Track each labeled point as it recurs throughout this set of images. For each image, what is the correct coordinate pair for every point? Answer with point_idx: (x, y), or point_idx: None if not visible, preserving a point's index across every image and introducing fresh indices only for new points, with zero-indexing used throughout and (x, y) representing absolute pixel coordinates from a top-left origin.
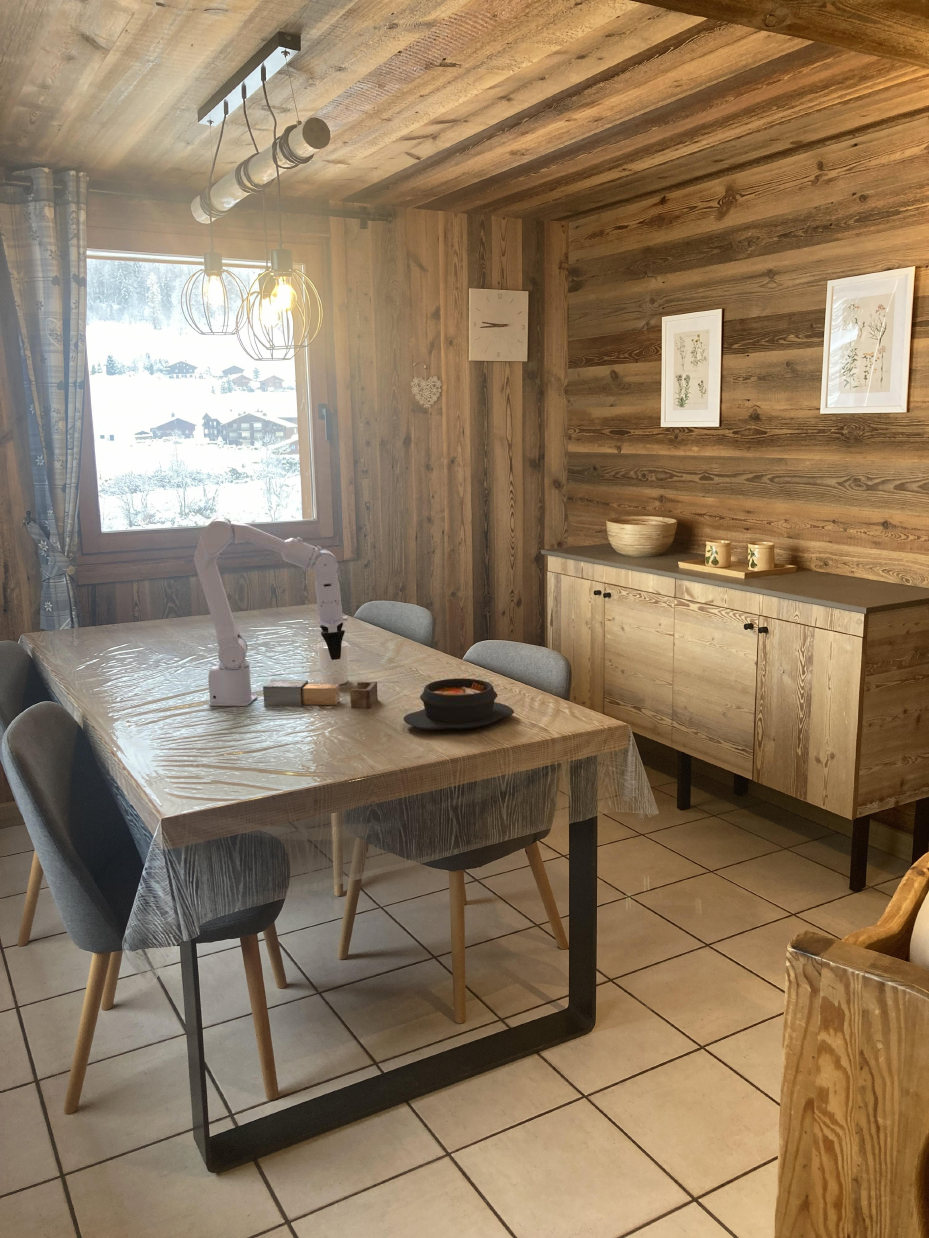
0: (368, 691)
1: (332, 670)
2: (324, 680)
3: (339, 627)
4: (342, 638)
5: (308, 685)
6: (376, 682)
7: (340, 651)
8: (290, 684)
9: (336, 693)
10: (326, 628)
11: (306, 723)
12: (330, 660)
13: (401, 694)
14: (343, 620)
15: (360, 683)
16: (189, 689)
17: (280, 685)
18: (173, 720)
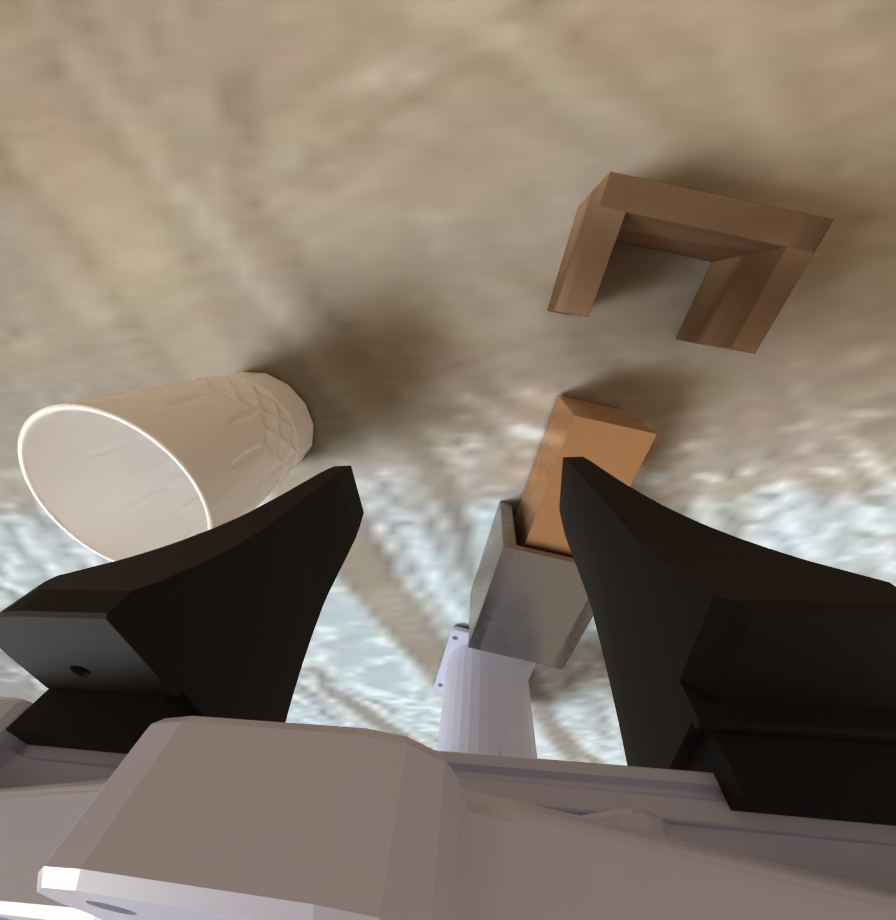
0: (820, 230)
1: (285, 448)
2: (298, 461)
3: (200, 600)
4: (770, 549)
5: (555, 538)
6: (623, 175)
7: (617, 480)
8: (560, 600)
9: (619, 418)
10: (260, 706)
11: (825, 503)
12: (260, 476)
13: (509, 37)
14: (495, 841)
15: (595, 295)
16: (356, 727)
17: (564, 627)
18: (610, 749)
